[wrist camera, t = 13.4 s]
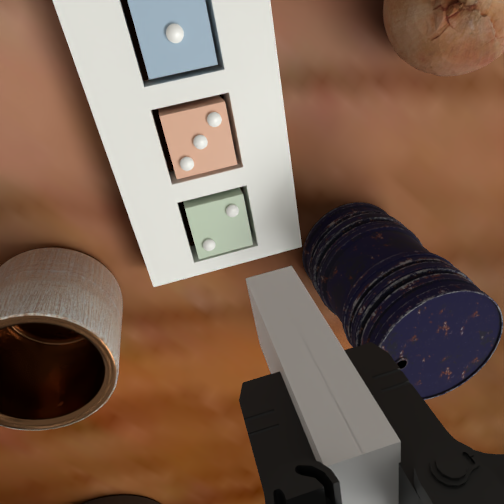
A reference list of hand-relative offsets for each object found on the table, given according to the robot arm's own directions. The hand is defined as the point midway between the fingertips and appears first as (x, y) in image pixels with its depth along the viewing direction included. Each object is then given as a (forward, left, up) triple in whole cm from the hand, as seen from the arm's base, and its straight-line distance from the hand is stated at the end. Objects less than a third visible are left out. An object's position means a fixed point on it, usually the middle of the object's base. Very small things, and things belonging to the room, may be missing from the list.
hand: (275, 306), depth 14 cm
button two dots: (0, -7, -23) cm, 24 cm away
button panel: (0, 0, -23) cm, 23 cm away
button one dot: (0, +7, -23) cm, 24 cm away
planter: (-15, -11, -24) cm, 30 cm away
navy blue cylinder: (+12, -14, -24) cm, 30 cm away
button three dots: (0, 0, -23) cm, 23 cm away
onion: (+19, +6, -24) cm, 31 cm away
